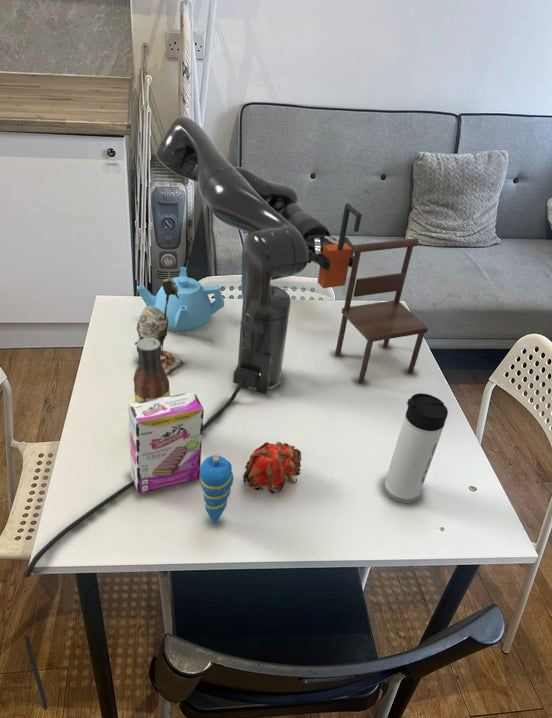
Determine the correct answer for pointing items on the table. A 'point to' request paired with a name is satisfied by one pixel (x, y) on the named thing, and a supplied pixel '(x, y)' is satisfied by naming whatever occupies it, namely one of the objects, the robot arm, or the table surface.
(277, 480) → the dragon fruit
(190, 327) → the teapot
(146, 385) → the sauce bottle
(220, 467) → the ornament
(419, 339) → the chair
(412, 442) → the travel mug
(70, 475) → the table surface
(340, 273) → the orange open padlock
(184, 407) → the candy bar box
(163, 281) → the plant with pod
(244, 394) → the table surface
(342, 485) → the table surface
